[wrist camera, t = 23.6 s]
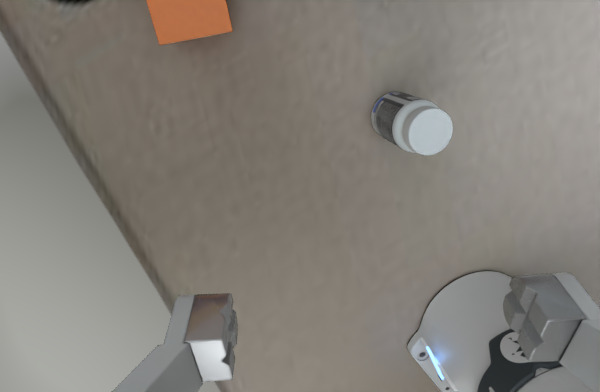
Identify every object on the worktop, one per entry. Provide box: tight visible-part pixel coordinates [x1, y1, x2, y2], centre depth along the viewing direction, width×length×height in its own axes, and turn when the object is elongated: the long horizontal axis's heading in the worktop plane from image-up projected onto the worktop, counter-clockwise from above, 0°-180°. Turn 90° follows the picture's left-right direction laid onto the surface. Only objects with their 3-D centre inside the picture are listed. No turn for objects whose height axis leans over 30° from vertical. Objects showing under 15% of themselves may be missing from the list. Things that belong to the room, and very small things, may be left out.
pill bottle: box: [371, 92, 453, 155], centre depth 37 cm, size 5×5×8 cm
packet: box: [146, 0, 233, 45], centre depth 31 cm, size 4×5×9 cm
